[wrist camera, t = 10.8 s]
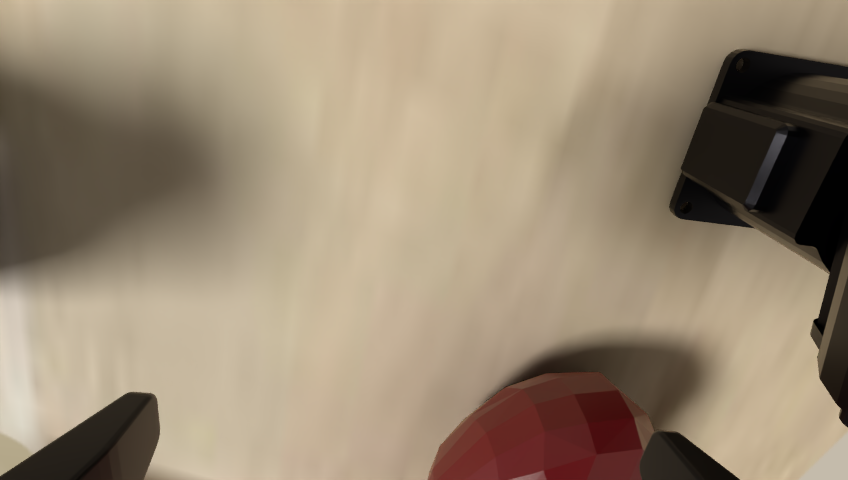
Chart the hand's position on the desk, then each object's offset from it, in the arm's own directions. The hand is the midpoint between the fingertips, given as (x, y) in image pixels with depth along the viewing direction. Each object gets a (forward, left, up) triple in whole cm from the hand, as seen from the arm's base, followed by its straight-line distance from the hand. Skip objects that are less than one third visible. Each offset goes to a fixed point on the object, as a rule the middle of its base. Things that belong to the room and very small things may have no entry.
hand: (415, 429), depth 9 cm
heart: (-7, +12, -12) cm, 19 cm away
